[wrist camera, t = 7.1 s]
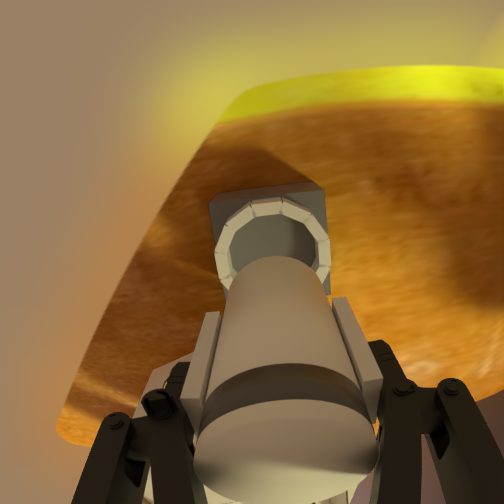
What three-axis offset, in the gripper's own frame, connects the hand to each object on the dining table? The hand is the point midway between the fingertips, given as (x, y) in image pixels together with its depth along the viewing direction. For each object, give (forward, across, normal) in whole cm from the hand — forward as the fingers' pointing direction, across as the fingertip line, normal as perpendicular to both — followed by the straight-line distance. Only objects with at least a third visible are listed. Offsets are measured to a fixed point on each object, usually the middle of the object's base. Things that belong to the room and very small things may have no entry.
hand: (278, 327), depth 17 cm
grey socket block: (+18, 0, 0) cm, 18 cm away
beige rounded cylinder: (+3, 0, 0) cm, 3 cm away
